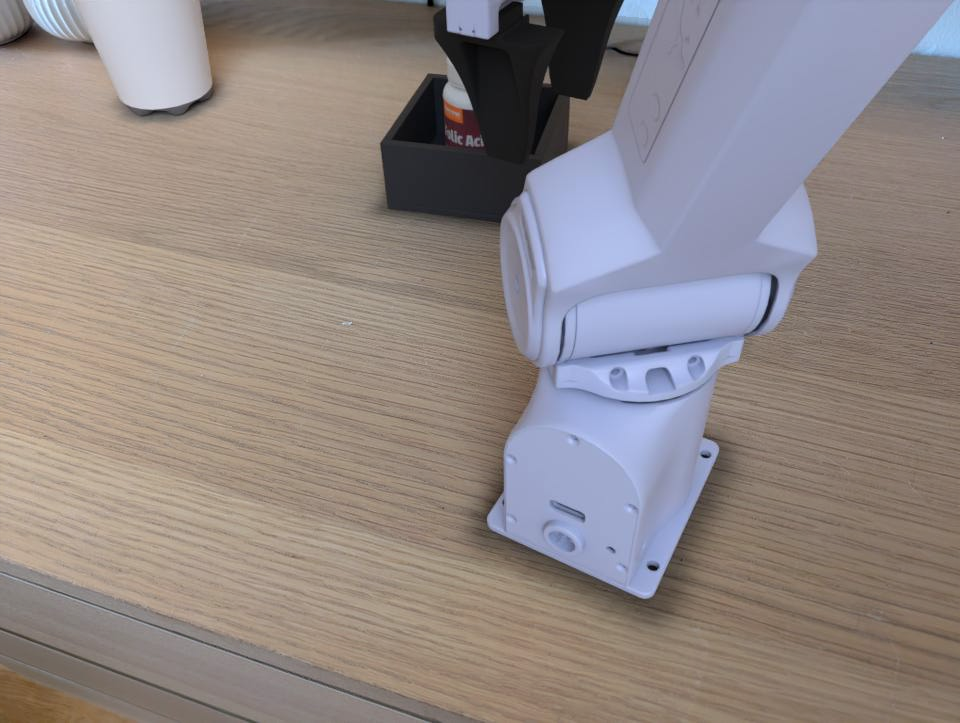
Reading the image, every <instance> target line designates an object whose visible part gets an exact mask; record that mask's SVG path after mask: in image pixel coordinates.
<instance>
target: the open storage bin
mask: <svg viewBox="0 0 960 723" xmlns="http://www.w3.org/2000/svg"><path fill="white" fill-rule="evenodd" d="M447 82H448V77H447V74H442V73H430V72H428V73H426V75H425V77H424V79H423V80H422V82H421V83H420V84H419V86H418V87H417V89H416V90H415V92H414V93H413V95H411V97H410V99H409V100H408V102H407V104H405V106H404V108H403V109H402V111H401V112H400V114H399V115H398V116H397V117H396V120H395V121H394V122H393V124H392V125H391V127H390V128H389V129H388V131H387V132H386V133H385V135H384V136H383V138H382V139H381V141H380V142H379V147H380V148H379V149H380V155H381V164H382V172H383V179H384V180H383V181H384V188H385V197H386V204H387V205H386V206H387V209H390V210H397V211H405V212H413V213H421V214H429V215H439V216H447V217H454V218H463V219H471V220H477V221H478V220H479V221H487V222H496V223H501V220H502V218H503V216H504V214H505V213H506V212H507V210H508V209H509V208H510V206H511V203H512V201H513V200H514V199H515V198H516V197H518V196H520V195H521V194H522V192H523V189H524V185H525V180H526V176H527V174H528V173H530V172H531V171H532V170H534V169H536V168H538V167H539V166H541V165H543V164H545V163H547V162H549V161H551V160H553V159H554V158H556V157H558V156H560V155H562V154H564V153H566V152H568V148H569V129H570V128H569V127H570V111H571V110H570V106H571V97H567V96H563V95H558V94H554V93H553V90H552V86H551V83H545V82H543V85H542V89H541V94H540V98H539V104H538V112H537V120H536V128H535V135H534V141H533V145H532V149H531V152H530V155H529V158H528V159H527V160H526V161H525V162H524V163H523V164H521V165H519V164H515V163H511V162H507V161H504V160H500V159H496V158H492V157H488V156H487V153H486V150H482V149H473V148H463V147H454V146H446V141H445V123H444V108H443V106H444V104H443V90H444V87H445V85H446V84H447Z"/></svg>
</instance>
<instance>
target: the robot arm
mask: <svg viewBox="0 0 960 723" xmlns="http://www.w3.org/2000/svg"><path fill="white" fill-rule="evenodd" d="M524 1H525V0H445V6H444V7H443V8H441V9H440V10H438V11H437V12H436V13H434V15H433V17H432V22H433V25H432V26H433V38H434V40H435V41H436V43H437V44H438V45H439V47H440V48H441V49H442V51H443V52H444V54H445V55H446V57H447V56H448V58H449V60H450V61H451V63H452V64H453V66H454V68H455V69H456V71H457V73H458V75H459V77H460V79H461V81H462V83H463V85H464V87H465V89H466V92H467V94H468V97H469V100H470V102H471V105H472V108H473V111H474V114H475V117H476V121H477V124H478V127H479V131H480V134H481V137H482V141H483V144H484V147H485V150H486V153H487V156H488V157H492V158H496V159H500V160H504V161H507V162H511V163H515V164H519V165H521V164H523V163H524V162H525V161H526V160H527V159H528V158H529V155H530V152H531V149H532V145H533V141H534V135H535V128H536V120H537V112H538V104H539V98H540V94H541V89H542V85H543V83H544V81H545V78H546V76H547V75H546V74H547V71H548V75H549V81H550V84H551V86H552V90H553V93H554V94H558V95H563V96H567V97H570V98H572V99H575V100H581V101H588V100H589V98H591V96H592V95H593V94H592V93H593V91H594V88H595V86H596V83H597V80H598V77H599V75H600V70H601V66H602V63H603V59H604V56H605V53H606V50H607V47H608V43H609V40H610V36H611V34H612V30H613V28H614V26H615V23H616V21H617V17H618V15H619V13H620V12H621V9H622V6H623V4H624V2H625V0H540V2H541V7H542V11H543V19H544V25H542V24H536V23H530V15H529V14H527V13H526V14H525V15H524ZM954 2H955V0H657V2H656V3H657V4H656V6H655V8H654V12H653V15H652V16H651V20H650V22H649V25H648V28H647V29H646V30H647V31H646V34H645V36H644V39H643V41H642V44H641V47H640V50H639V52H638V55H637V58H636V61H635V63H634V66H633V69H632V71H631V74H630V77H629V80H628V83H627V84H626V88H625V90H624V94H623V96H622V99H621V102H620V104H619V108H618V110H617V112H616V115H615V118H614V120H613V124H612V126H611V128H609V129H608V130H606V131H605V132H603V133H600V134H599V135H597V136H596V137H593V138H592V139H590V140H588V141H586V142H584V143H582V144H580V145H578V146H576V147H574V148H572V149H570V150H567V151H566V153H564V154H562V155H560V156H558V157H556V158H554V159H553V160H551V161H549V162H547V163H545V164H543V165H541V166H539V167H538V168H536V169H534V170H532V171H531V172H530V173H528V174H527V176H526V180H525V185H524V189H523V192H522V194H521V195H520V196H518V197H516V198H515V199H514V200H513V201H512V203H511V206H510V208H509V209H508V210H507V212H506V213H505V214H504V216H503V218H502V220H501V222H500V226H499V264H500V274H501V282H502V291H503V297H504V303H505V309H506V313H507V319H508V322H509V327H510V331H511V334H512V337H513V340H514V343H515V346H516V347H517V349H518V351H519V353H520V354H521V355H523V356H524V357H526V358H527V360H530V362H531V364H532V365H533V366H535V367H536V368H539V370H538V374H537V380H536V384H535V387H534V389H533V392H532V395H531V397H530V400H529V402H528V404H527V406H526V407H525V409H524V410H523V412H522V414H521V416H520V417H519V419H518V421H517V422H516V423H515V425H514V427H513V428H512V429H511V431H510V433H509V434H508V436H507V439H506V441H505V443H504V448H503V492H502V493H501V494H500V496H499V497H498V499H497V500H496V502H495V503H494V505H493V506H492V508H491V509H490V511H489V512H488V513H487V516H486V523H487V524H486V525H487V527H488V529H489V530H491V531H493V532H494V533H496V534H499V535H501V536H503V537H505V538H507V539H510V540H512V541H514V542H516V543H518V544H521V545H523V546H524V547H528V548H530V549H531V550H534V551H536V552H538V553H539V554H542V555H545V556H546V557H550V558H551V559H553V560H556V561H558V562H561V563H563V564H565V565H567V566H569V567H571V568H573V569H576V570H578V571H580V572H582V573H584V574H587V575H588V576H591V577H593V578H596V579H598V580H599V581H602V582H604V583H607V584H609V585H611V586H613V587H615V588H617V589H619V590H622V591H624V592H626V593H628V594H631V595H633V596H635V597H637V598H639V599H643V600H645V599H646V600H647V599H650V598H652V597H653V596H654V595H655V593H656V592H657V589H658V587H659V586H660V583H661V581H662V579H663V576H664V574H665V572H666V570H667V568H668V566H669V564H670V561H671V559H672V557H673V555H674V553H675V550H676V548H677V546H678V543H679V541H680V540H681V537H682V535H683V532H684V530H685V528H686V526H687V524H688V522H689V520H690V517H691V515H692V513H693V511H694V508H695V506H696V505H697V502H698V500H699V499H700V495H701V493H702V491H703V489H704V487H705V484H706V482H707V481H708V478H709V477H710V474H711V472H712V469H713V467H714V464H715V463H716V460H717V458H718V456H719V453H720V446H719V444H718V443H717V442H716V441H714V440H711V439H709V438H706V437H704V433H705V429H706V426H707V425H706V424H707V420H708V417H709V413H710V408H711V405H712V400H713V396H714V392H715V387H716V383H717V381H718V380H717V379H718V375H719V371H720V369H721V368H723V367H724V366H727V365H729V364H733V363H738V362H739V361H740V358H741V355H742V351H743V346H744V344H745V340H746V338H748V337H754V336H763V335H766V334H768V333H771V332H772V331H773V330H774V329H776V328H777V327H778V325H779V324H780V322H781V321H782V319H783V318H784V315H785V313H786V311H787V310H788V307H789V305H790V303H791V301H792V298H793V295H794V293H795V287H796V283H797V281H798V279H799V277H800V276H801V274H802V272H803V271H804V270H805V268H807V267H808V266H809V264H811V263H812V261H814V260H815V258H816V257H817V256H818V254H819V250H818V249H819V248H818V241H817V234H816V225H815V219H814V213H813V209H812V206H811V203H810V199H809V195H808V191H807V188H806V185H805V183H804V182H805V180H806V179H808V177H809V176H810V175H811V173H812V172H813V171H814V170H815V169H816V167H817V166H818V165H819V164H820V162H821V161H822V160H823V159H824V158H825V156H827V154H829V152H830V151H831V149H832V148H833V147H834V146H835V145H836V143H837V142H838V141H839V140H840V139H841V138H842V136H843V135H844V134H845V133H846V131H847V130H848V129H849V128H850V126H852V124H853V123H854V122H855V120H857V118H858V117H859V116H860V115H861V113H862V112H863V111H864V110H865V108H866V107H868V105H869V104H870V103H871V101H872V100H873V99H874V98H875V97H876V96H877V94H879V92H880V91H881V89H882V88H883V87H884V85H886V83H887V82H888V81H889V80H890V79H891V77H892V76H893V75H894V74H895V72H897V71H898V69H899V68H900V67H901V66H902V64H903V63H904V62H905V61H906V59H907V58H908V57H909V56H910V55H911V53H912V52H914V50H915V49H916V47H917V46H918V45H919V44H920V43H921V42H922V40H923V39H924V38H925V37H926V36H927V34H928V33H929V32H930V31H931V29H932V28H933V27H934V25H936V23H937V22H938V21H939V20H940V19H941V17H943V15H944V14H945V13H946V11H947V10H948V9H949V8H950V7H951V6H952V4H953V3H954ZM704 456H706V457H704ZM650 566H654V567H655V568H656V569H657V570H652V569H650V568H649V567H650Z"/></svg>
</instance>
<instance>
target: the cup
mask: <svg viewBox="0 0 960 723" xmlns="http://www.w3.org/2000/svg"><path fill="white" fill-rule="evenodd" d="M73 2H74V4H75V6H76V8H77V10H78V12H79V14H80V17H81V19H82V21H83V23H84V25H85V28H86V30H87V32H88V34H89V36H90V38H91V41H92V42H93V45H94V47H95V49H96V51H97V53H98V55H99V57H100V59H101V62H102V65H103V66H104V68H105V70H106V73H107V75H108V78H109V79H110V81H111V83H112V86H113V87H114V90H115V92H116V94H117V96H118V99H119V101H121V102H122V103H123V104H124V105H125V106H126V107H127V108H128V109H129V110H130V111H132V113H134V115H136V116H139V117H143V116H148V115H151V113H153V112H154V111H163V112H165V111H166V112H167V113H169V114H170V115H174V116H175V115H176V116H180V115H183V114H185V113H186V112H187V111H188V110H189V108H190V106H191V105H192V104H194V103H196V102H198V101H199V102H202V101H206V100H210V98H211V97H212V93H213V75H212V69H211V64H210V57H209V50H208V45H207V39H206V33H205V32H206V30H205V27H204V20H203V12H202V8H201V0H73Z"/></svg>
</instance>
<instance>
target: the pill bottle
mask: <svg viewBox="0 0 960 723" xmlns="http://www.w3.org/2000/svg"><path fill="white" fill-rule="evenodd" d="M446 75H447V77H448V82H447V84H446V85H445V87H444V90H443V104H444V106H443V108H444V123H445V141H446V146H454V147H463V148H473V149H482V150H485V147H484V144H483V141H482V137H481V134H480V131H479V127H478V124H477V121H476V117H475V114H474V111H473V108H472V105H471V102H470V100H469V97H468V94H467V92H466V89H465V87H464V85H463V83H462V81H461V79H460V77H459V75H458V73H457V71H456V69H455V68H454V66H453V64H452V63H451V61H450V60H449V58H448V56H447V55H446Z"/></svg>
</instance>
